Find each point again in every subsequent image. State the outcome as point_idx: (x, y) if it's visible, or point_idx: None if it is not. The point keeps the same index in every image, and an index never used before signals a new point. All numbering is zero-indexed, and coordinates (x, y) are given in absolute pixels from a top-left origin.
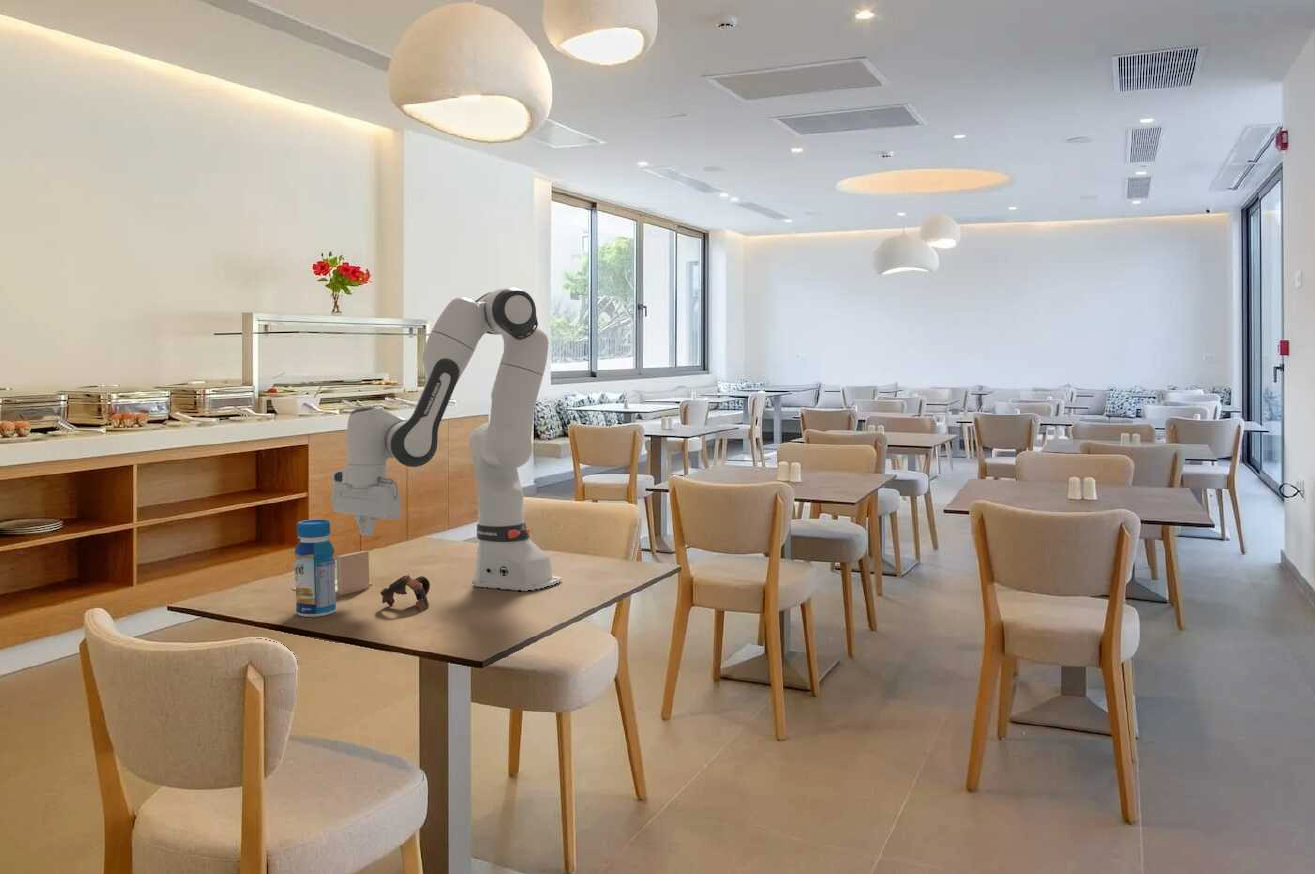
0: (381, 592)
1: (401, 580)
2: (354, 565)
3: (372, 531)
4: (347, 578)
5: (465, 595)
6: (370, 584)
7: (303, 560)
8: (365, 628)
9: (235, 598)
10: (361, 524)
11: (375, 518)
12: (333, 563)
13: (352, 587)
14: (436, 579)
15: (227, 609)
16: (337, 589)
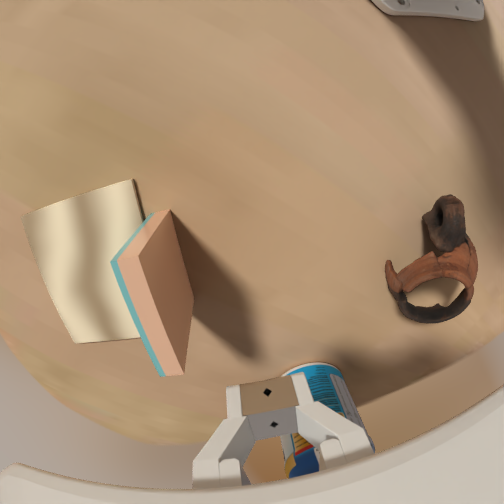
0: (418, 321)
1: (468, 304)
2: (171, 300)
3: (307, 389)
4: (184, 305)
5: (439, 94)
6: (134, 187)
7: None
8: (438, 354)
9: (102, 413)
10: (246, 451)
11: (367, 451)
12: (372, 444)
13: (183, 273)
14: (221, 4)
15: (172, 440)
16: None
